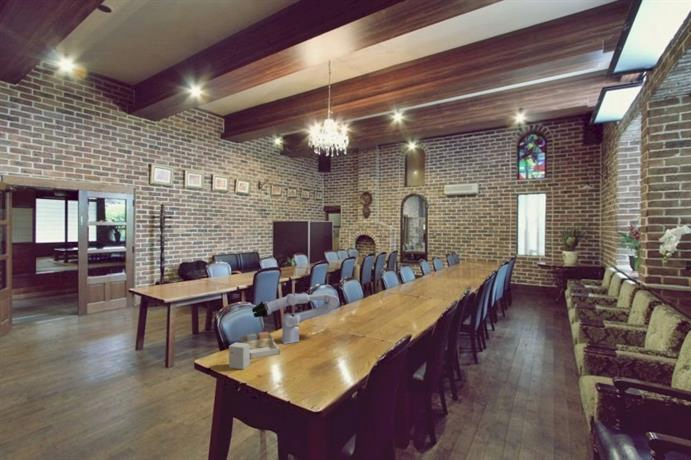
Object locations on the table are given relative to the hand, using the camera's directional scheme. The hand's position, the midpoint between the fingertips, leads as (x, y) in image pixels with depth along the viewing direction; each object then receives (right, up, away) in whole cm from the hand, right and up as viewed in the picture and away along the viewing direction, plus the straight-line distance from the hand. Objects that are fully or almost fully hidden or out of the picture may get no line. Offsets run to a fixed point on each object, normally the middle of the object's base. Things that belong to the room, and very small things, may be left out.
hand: (253, 313), depth 189 cm
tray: (+8, -18, -11) cm, 23 cm away
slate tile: (-1, -14, -2) cm, 14 cm away
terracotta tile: (+6, -14, +1) cm, 15 cm away
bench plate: (+2, -18, 0) cm, 18 cm away
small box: (+1, -19, -29) cm, 34 cm away
